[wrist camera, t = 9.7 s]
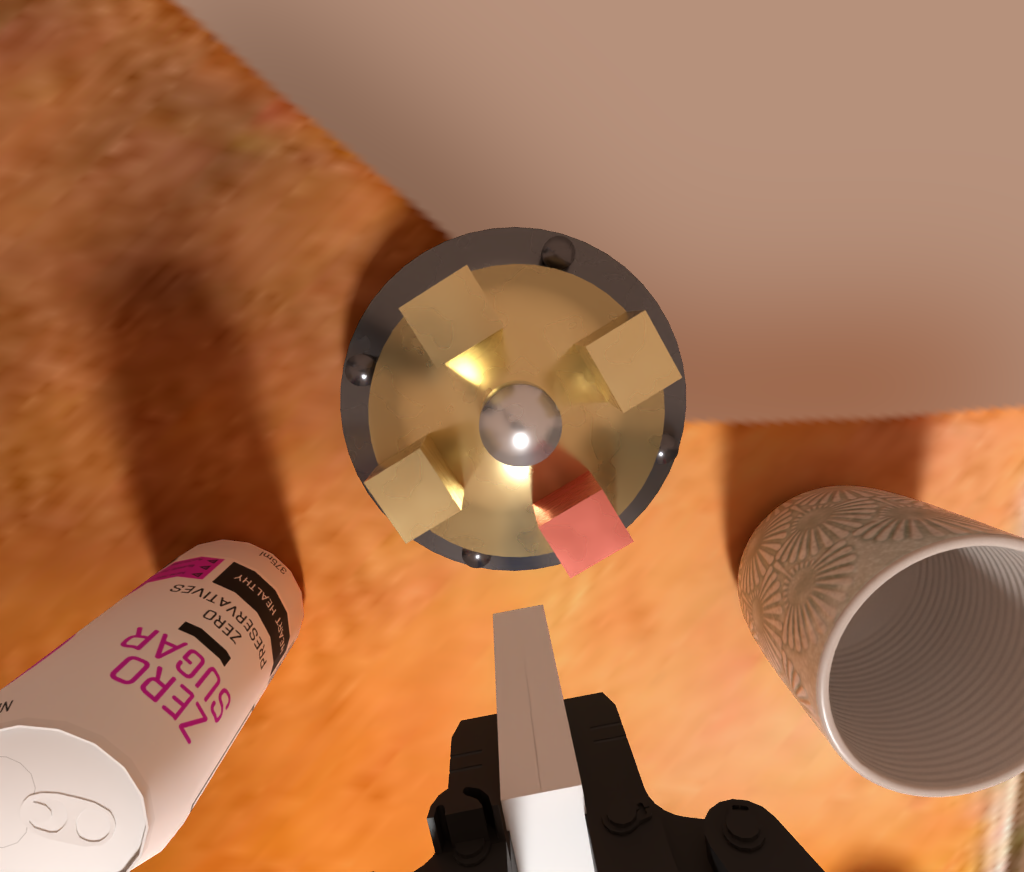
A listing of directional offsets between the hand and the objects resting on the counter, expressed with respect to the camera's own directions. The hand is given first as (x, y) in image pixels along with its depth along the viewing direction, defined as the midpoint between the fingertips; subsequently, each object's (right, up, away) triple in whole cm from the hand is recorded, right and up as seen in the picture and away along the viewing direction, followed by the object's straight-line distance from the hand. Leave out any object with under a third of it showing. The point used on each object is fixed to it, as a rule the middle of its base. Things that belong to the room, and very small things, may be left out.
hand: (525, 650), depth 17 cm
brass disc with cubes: (0, +8, +12) cm, 15 cm away
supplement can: (-17, -3, +17) cm, 24 cm away
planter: (+18, -1, +18) cm, 26 cm away
